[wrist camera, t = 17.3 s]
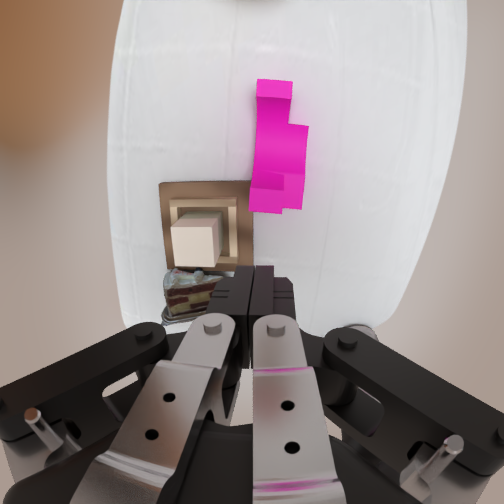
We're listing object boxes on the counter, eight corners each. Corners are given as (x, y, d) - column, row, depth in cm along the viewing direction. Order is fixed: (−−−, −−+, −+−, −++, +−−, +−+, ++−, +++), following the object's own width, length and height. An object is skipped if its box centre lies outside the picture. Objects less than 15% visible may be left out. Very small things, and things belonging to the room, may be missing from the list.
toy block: (298, 201, 40) (303, 216, 33) (253, 197, 40) (248, 211, 33) (308, 93, 34) (315, 84, 27) (260, 89, 34) (257, 78, 27)
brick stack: (223, 245, 41) (214, 267, 35) (189, 245, 42) (175, 266, 35) (222, 211, 39) (211, 227, 33) (186, 211, 40) (170, 227, 33)
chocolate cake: (240, 265, 41) (161, 291, 35) (244, 308, 44) (171, 338, 37) (207, 250, 49) (139, 270, 42) (212, 288, 51) (148, 310, 44)
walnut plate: (253, 268, 44) (251, 276, 41) (169, 265, 45) (164, 273, 42) (252, 180, 39) (251, 183, 36) (161, 182, 40) (154, 186, 37)
